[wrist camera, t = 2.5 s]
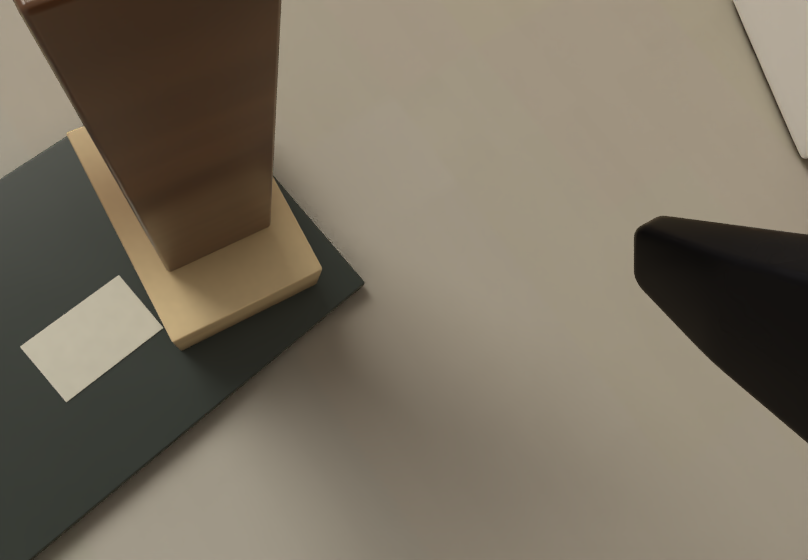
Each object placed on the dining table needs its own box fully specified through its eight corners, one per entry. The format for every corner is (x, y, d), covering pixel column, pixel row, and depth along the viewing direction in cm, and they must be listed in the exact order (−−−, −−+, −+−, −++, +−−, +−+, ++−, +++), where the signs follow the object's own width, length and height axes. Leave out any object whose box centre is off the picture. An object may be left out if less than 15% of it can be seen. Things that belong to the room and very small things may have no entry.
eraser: (317, 283, 21) (414, 29, 8) (180, 351, 20) (22, 187, 7) (221, 104, 22) (161, -415, 8) (83, 159, 21) (-242, -343, 7)
